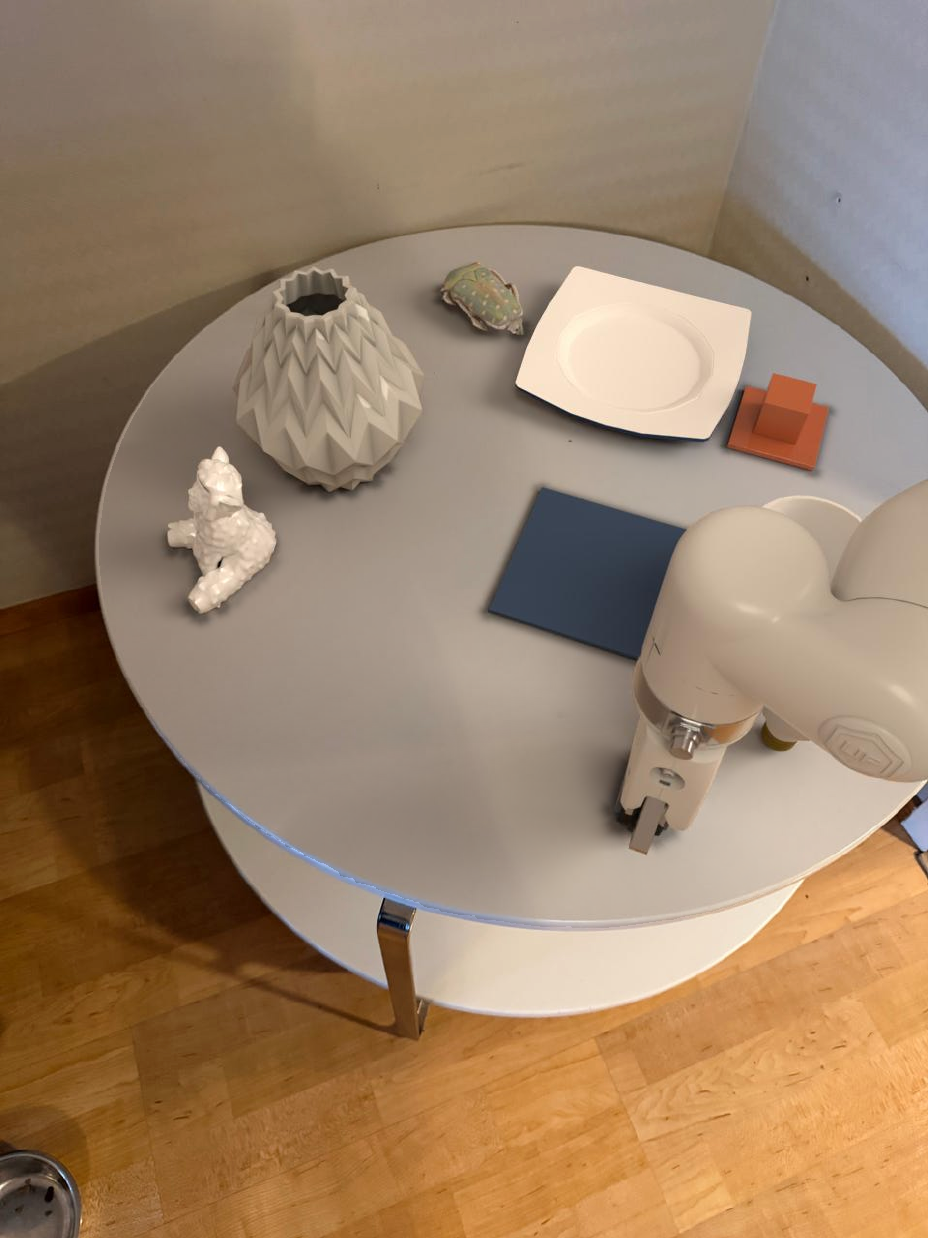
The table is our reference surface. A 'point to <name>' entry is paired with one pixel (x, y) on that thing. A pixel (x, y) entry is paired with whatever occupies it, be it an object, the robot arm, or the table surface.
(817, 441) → the terracotta tile
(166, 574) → the table surface
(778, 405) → the terracotta block
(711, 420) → the plate
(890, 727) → the robot arm
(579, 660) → the table surface
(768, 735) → the light bulb
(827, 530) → the mug
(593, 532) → the navy blue mat
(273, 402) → the vase
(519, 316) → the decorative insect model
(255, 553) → the sitting furry creature
